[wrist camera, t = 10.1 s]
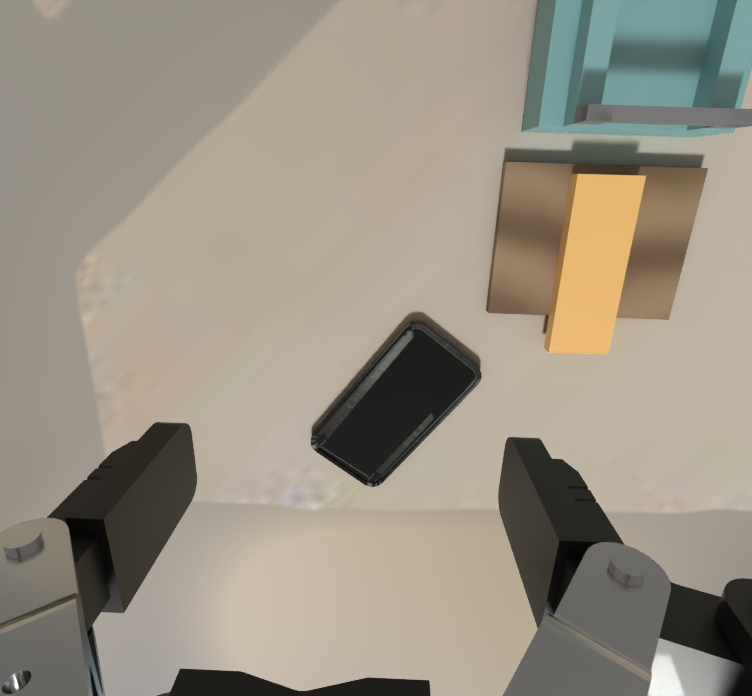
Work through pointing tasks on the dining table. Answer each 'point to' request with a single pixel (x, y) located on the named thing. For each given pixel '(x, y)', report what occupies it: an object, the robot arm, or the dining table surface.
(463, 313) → the dining table surface
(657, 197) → the walnut mat
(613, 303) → the ticket card
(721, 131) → the ticket dispenser
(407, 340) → the phone
